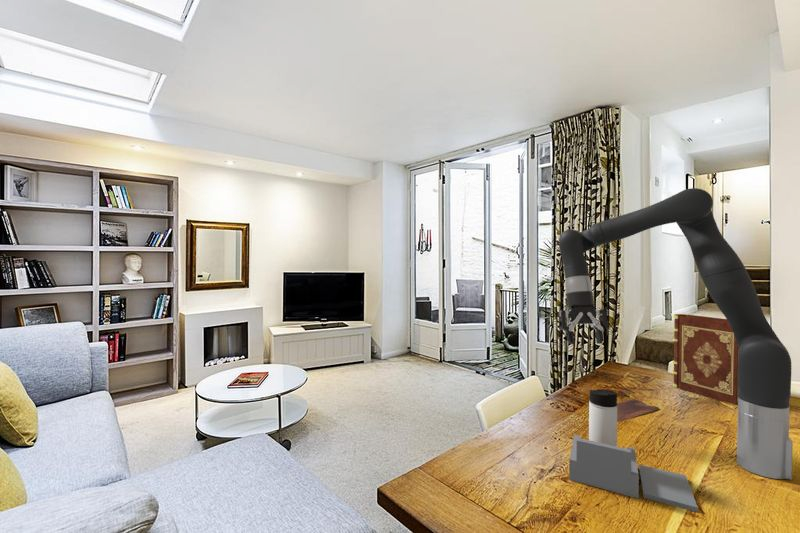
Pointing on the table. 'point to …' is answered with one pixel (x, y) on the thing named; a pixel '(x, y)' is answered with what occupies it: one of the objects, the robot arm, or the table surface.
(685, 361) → the decorative book
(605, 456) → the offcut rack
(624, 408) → the wooden tablet
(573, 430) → the table surface
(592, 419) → the travel mug
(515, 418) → the table surface
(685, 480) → the slate tile
